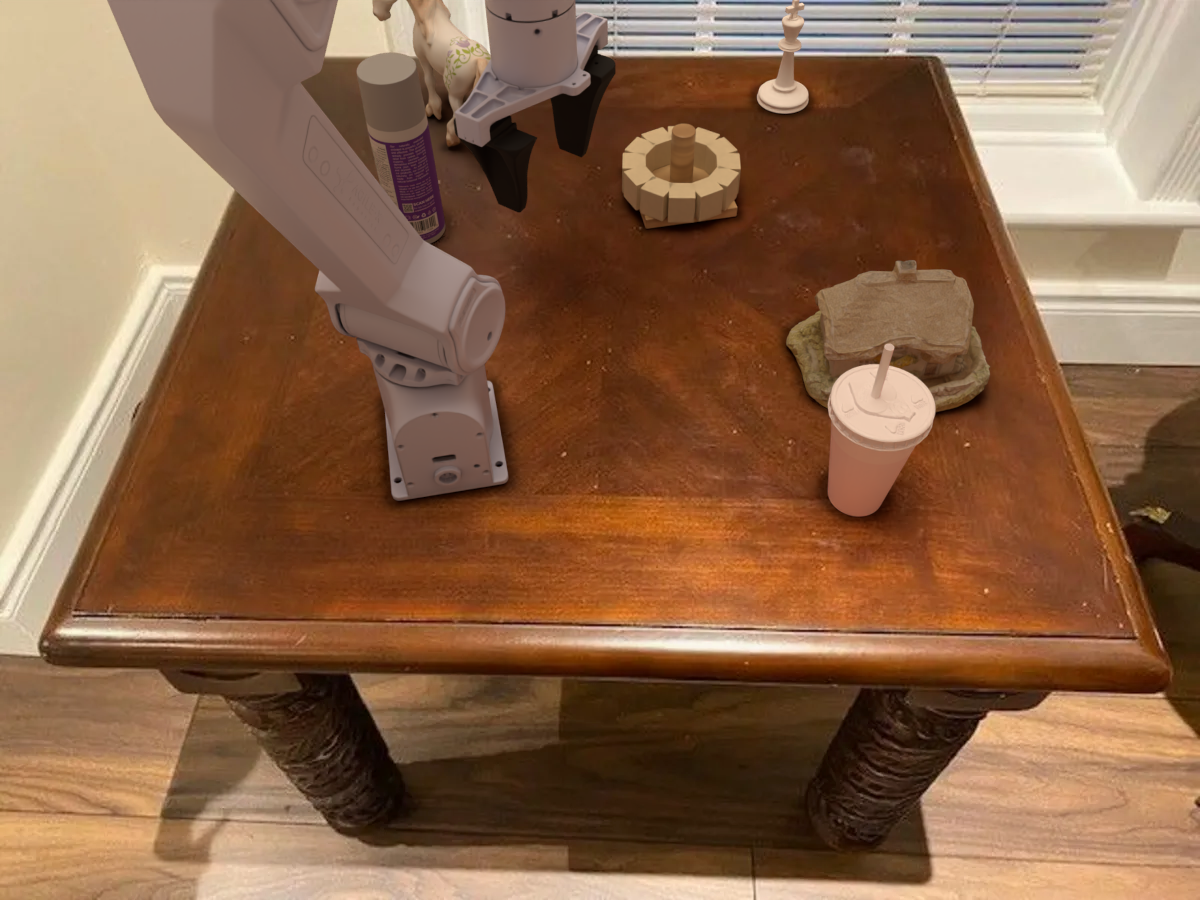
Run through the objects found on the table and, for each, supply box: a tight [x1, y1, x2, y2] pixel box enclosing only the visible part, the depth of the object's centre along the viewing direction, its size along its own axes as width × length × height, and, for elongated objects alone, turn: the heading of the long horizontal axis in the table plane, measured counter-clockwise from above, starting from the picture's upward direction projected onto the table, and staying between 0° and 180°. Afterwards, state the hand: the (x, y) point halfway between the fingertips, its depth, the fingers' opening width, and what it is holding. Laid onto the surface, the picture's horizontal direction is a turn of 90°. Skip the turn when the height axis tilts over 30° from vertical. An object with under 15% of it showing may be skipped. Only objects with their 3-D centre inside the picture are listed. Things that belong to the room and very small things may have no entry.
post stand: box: [638, 123, 738, 230], centre depth 88 cm, size 8×8×6 cm
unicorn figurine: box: [371, 0, 491, 148], centre depth 93 cm, size 7×20×13 cm, turn 48°
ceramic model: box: [785, 259, 991, 413], centre depth 74 cm, size 14×11×10 cm
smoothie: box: [827, 344, 936, 517], centre depth 65 cm, size 6×6×14 cm
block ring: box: [621, 125, 742, 224], centre depth 89 cm, size 10×10×3 cm
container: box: [356, 51, 446, 244], centre depth 83 cm, size 5×5×15 cm
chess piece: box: [756, 0, 809, 115], centre depth 95 cm, size 5×5×10 cm
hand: (543, 177), depth 76 cm, fingers open, 7 cm apart
